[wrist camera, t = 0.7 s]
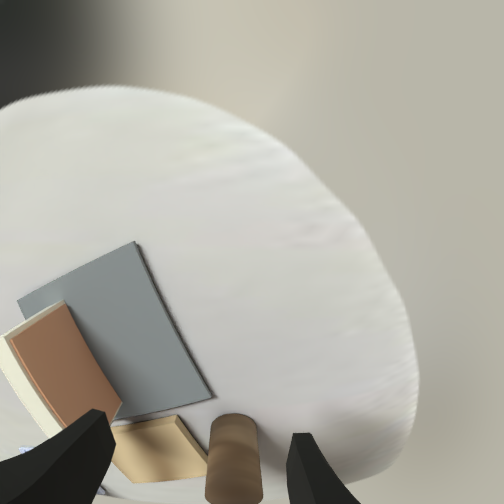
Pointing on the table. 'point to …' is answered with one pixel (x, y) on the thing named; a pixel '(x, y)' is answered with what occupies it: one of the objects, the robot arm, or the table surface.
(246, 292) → the table surface
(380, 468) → the table surface
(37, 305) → the mat
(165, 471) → the board
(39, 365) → the tile
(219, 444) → the dowel
